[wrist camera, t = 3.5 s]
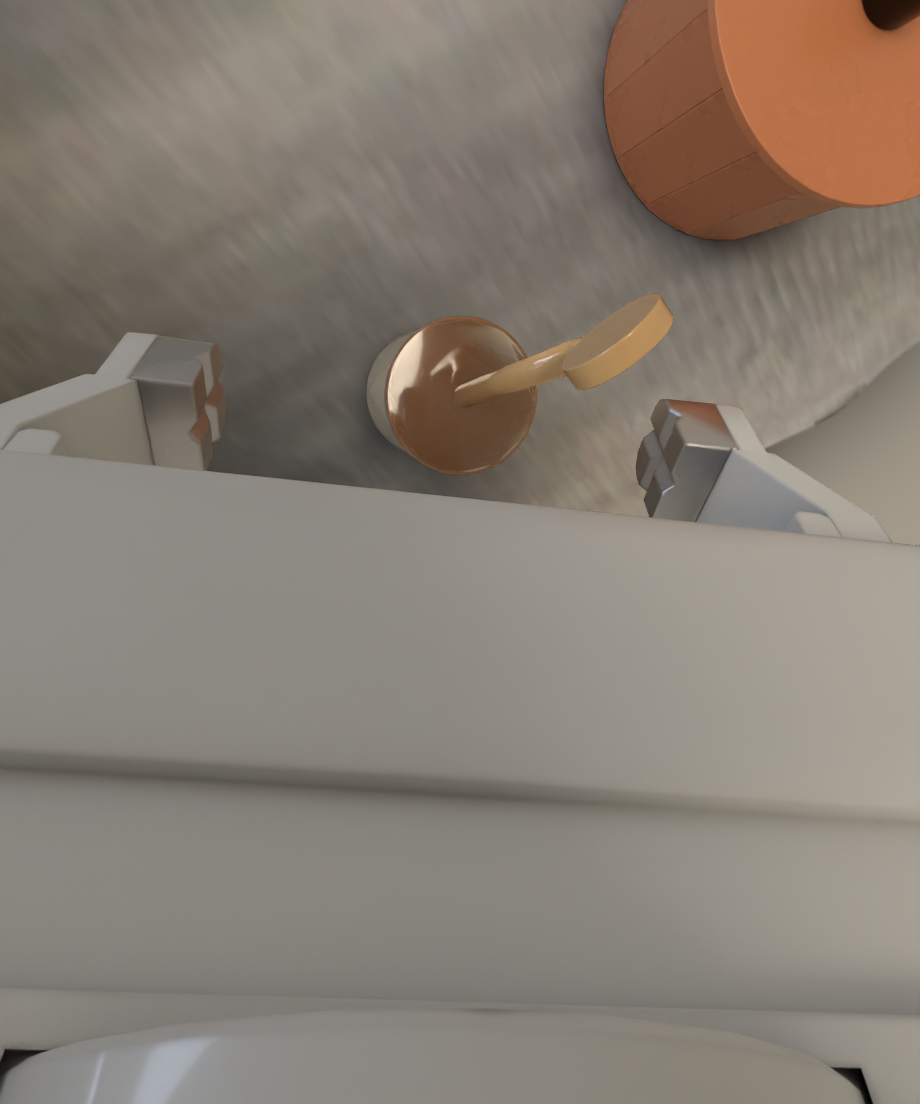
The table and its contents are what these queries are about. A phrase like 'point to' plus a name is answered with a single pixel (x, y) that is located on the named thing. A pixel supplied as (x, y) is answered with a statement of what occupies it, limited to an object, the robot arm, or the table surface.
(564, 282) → the table surface
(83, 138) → the table surface
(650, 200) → the pot
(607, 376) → the crock
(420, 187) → the table surface
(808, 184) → the pot lid
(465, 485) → the table surface
